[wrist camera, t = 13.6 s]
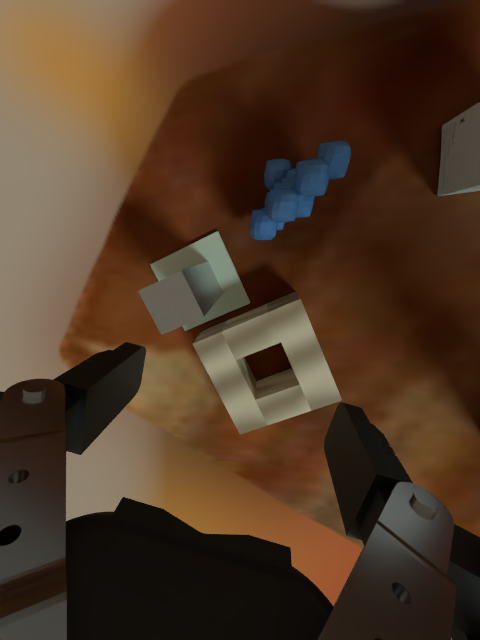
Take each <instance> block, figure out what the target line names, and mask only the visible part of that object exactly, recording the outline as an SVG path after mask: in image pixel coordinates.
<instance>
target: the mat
mask: <svg viewBox="0 0 480 640" xmlns="http://www.w3.org/2000/svg"><path fill="white" fill-rule="evenodd" d="M207 261H209V264H210V266H211V268H212V270H213V272H214V274H215V276H216V278H217V281H218V283H219V285H220V287H221V289H222V291H223V294H222V295H221V296H220V298H219V299H218V300H217V301H216V303H215V304H214V305H213V306H212V308H211V309H210V310H209V311H208V312H207V314H206V315H205V316H204V317H202V318H200V319H198V320H195V321H193V322H191V323H188V324H186V325H184V326H182V327H183V328H184V330H185V331H187V330H189V329H191V328H194V327H196V326H198V325H200V324H203V323H205V322H207V321H210V320H212V319H214V318H217V317H219V316H221V315H224V314H226V313H228V312H231V311H233V310H235V309H238V308H240V307H242V306H245V305H247V304H249V303H251V302H250V300H249V298H248V296H247V294H246V291H245V289H244V287H243V285H242V283H241V280H240V278H239V276H238V274H237V272H236V269H235V267H234V265H233V263H232V261H231V258H230V256H229V254H228V252H227V250H226V247H225V245H224V243H223V241H222V239H221V236H220V234H219V232H218V231H217V232H215V233H213V234H211V235H209V236H207V237H205V238H203V239H201V240H199V241H197V242H195V243H193V244H191V245H189V246H187V247H185V248H183V249H181V250H179V251H177V252H175V253H173V254H171V255H169V256H167V257H164V258H162V259H160V260H158V261H156V262H154V263H152V264H150V266H151V268H152V270H153V271H154V273H155V275H156V277H157V279H158V281H160V280H163V279H165V278H167V277H169V276H171V275H173V274H175V273H177V272H179V271H182V270H184V269H187V268H190V267H193V266H196V265H199V264H202V263H205V262H207Z"/></svg>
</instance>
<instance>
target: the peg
mask: <svg viewBox="0 0 480 640" xmlns="http://www.w3.org/2000/svg"><path fill="white" fill-rule="evenodd" d="M138 292H139V294H140V296H141V298H142V300H143V302H144V303H145V305H146V307H147V309H148V311H149V313H150V314H151V316H152V318H153V320H154V322H155V324H156V325H157V327H158V329H159V331H160V333H161V335H163V334H165V333H167V332H170V331H172V330H174V329H177V328H179V327H181V326H184V325H186V324H188V323H191V322H193V321H195V320H198V319H200V318H202V317H204V316H205V315H206V314H207V312H208V311H209V310H210V309H211V308H212V306H213V305H214V304H215V303H216V301H217V300H218V299H219V298H220V296H221V295H222V294H223V291H222V289H221V287H220V285H219V283H218V281H217V278H216V276H215V274H214V272H213V270H212V268H211V266H210V264H209V261H207V262H205V263H202V264H199V265H196V266H193V267H190V268H187V269H184V270H182V271H179V272H177V273H175V274H173V275H171V276H169V277H167V278H165V279H163V280H160V281H158V282H156V283H154V284H152V285H150V286H148V287H146V288H144V289H141V290H139V291H138Z"/></svg>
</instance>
